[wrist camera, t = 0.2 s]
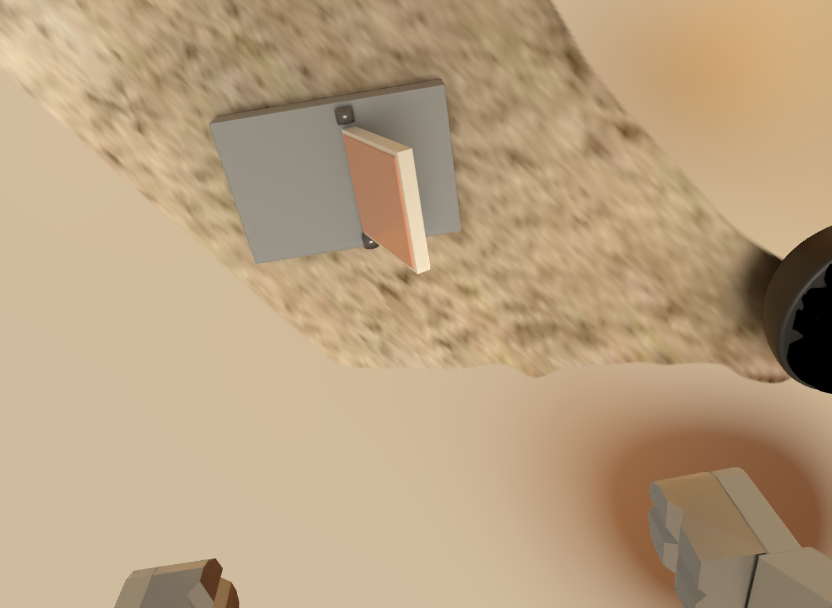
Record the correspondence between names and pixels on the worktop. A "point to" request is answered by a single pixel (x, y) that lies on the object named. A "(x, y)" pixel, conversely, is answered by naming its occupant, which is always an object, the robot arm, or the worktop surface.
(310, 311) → the worktop surface
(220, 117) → the stand
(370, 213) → the tile
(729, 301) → the worktop surface
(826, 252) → the coal bowl
